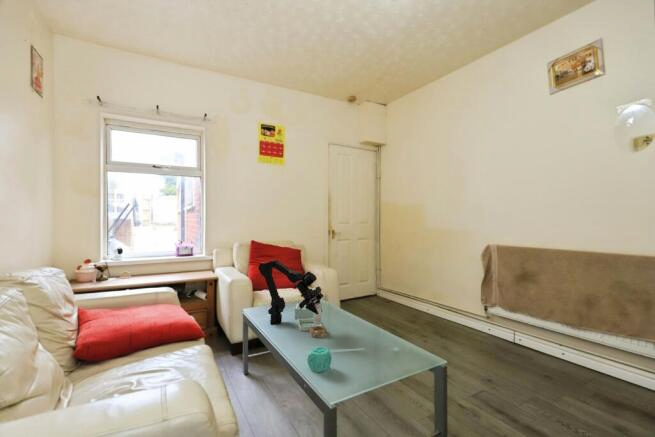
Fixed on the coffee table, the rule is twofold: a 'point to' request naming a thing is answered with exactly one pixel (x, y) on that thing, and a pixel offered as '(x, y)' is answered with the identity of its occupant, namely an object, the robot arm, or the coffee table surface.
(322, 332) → the tan square frame block
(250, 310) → the coffee table surface
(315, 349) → the decorative dice
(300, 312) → the right angle wall
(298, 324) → the parts tray
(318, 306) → the ball
